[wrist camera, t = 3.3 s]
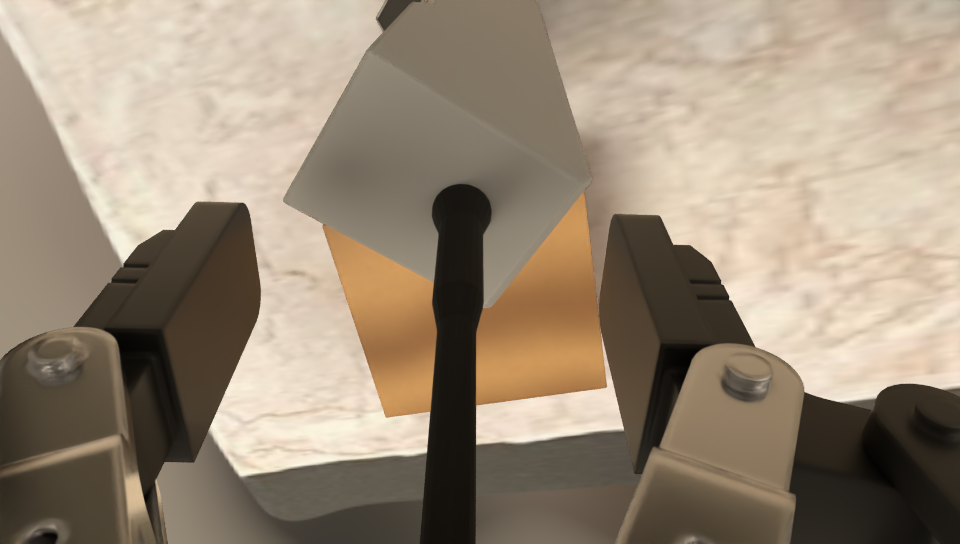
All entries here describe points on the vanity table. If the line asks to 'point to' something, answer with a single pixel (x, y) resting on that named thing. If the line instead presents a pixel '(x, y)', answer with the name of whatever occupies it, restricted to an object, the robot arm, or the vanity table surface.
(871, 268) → the vanity table surface
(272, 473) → the vanity table surface
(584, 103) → the vanity table surface
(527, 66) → the vintage mobile phone
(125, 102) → the vanity table surface
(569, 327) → the maple block
